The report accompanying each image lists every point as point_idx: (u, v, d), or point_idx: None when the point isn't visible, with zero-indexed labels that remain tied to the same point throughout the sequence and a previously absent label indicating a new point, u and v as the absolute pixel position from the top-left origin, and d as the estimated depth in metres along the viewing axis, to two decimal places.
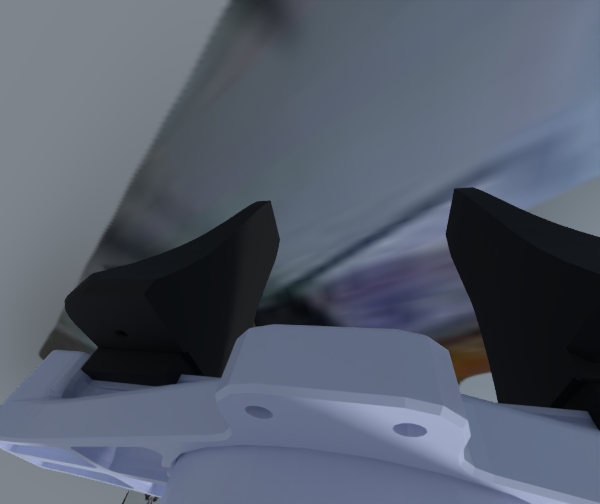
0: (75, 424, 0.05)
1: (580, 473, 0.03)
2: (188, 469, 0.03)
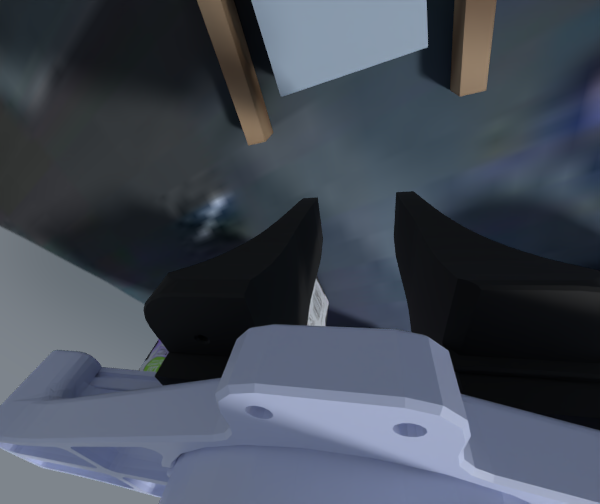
0: (75, 424, 0.05)
1: (580, 473, 0.03)
2: (188, 470, 0.03)
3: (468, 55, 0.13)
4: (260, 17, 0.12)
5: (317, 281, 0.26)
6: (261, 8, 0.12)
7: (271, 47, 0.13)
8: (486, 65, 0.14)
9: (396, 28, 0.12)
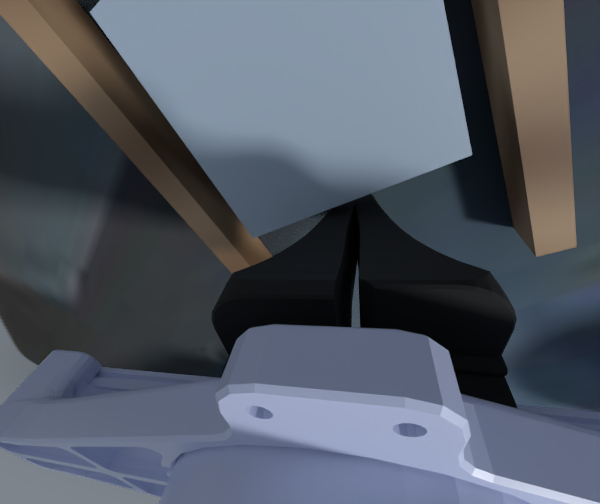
0: (75, 424, 0.05)
1: (580, 473, 0.03)
2: (188, 469, 0.03)
3: (539, 218, 0.10)
4: (197, 153, 0.08)
5: None
6: (195, 143, 0.08)
7: (223, 186, 0.09)
8: (571, 223, 0.10)
9: (412, 137, 0.07)
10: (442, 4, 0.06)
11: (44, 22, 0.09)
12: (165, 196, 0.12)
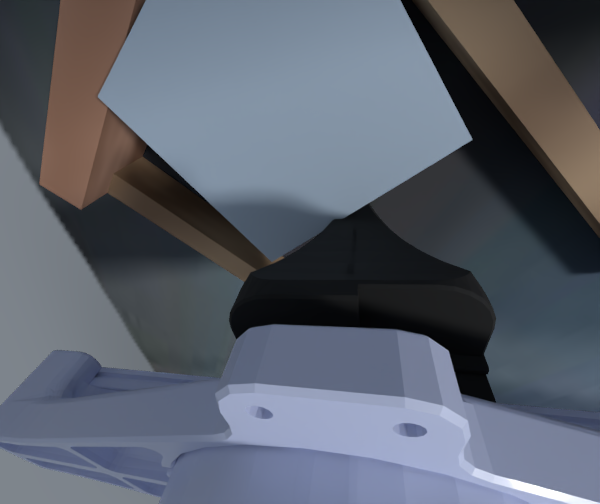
0: (75, 424, 0.05)
1: (580, 473, 0.03)
2: (188, 470, 0.03)
3: None
4: (206, 194, 0.09)
5: None
6: (202, 185, 0.09)
7: (234, 218, 0.09)
8: None
9: (403, 136, 0.07)
10: (400, 4, 0.05)
11: (222, 248, 0.13)
12: None
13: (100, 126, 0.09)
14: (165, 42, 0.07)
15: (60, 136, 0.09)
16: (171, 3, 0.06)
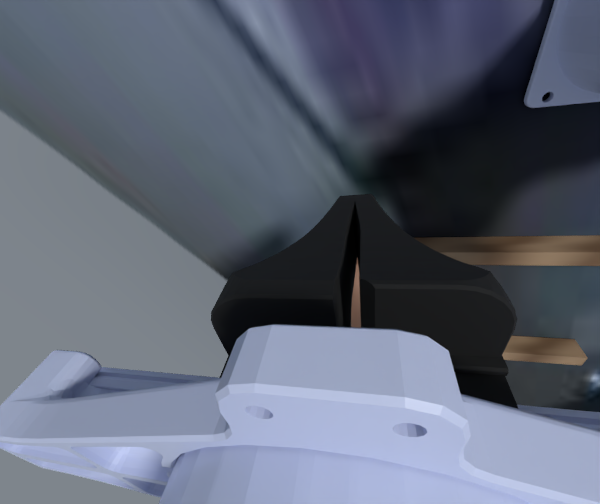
0: (75, 424, 0.05)
1: (580, 473, 0.03)
2: (188, 469, 0.03)
3: None
4: None
5: None
6: None
7: None
8: None
9: None
10: None
11: None
12: None
13: None
14: None
15: None
16: None
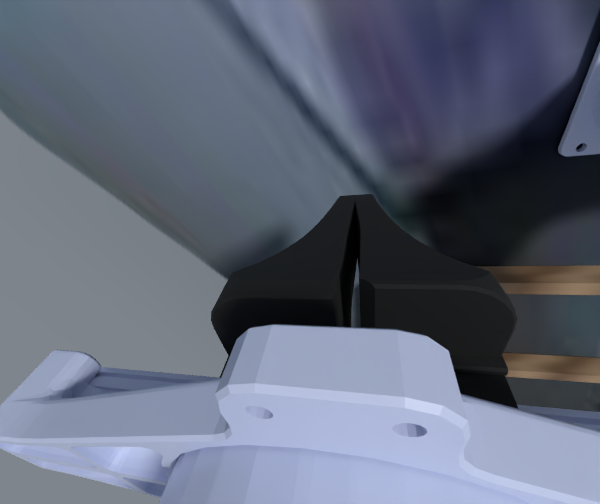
0: (75, 424, 0.05)
1: (580, 473, 0.03)
2: (188, 470, 0.03)
3: None
4: None
5: None
6: None
7: None
8: None
9: None
10: None
11: None
12: None
13: None
14: None
15: None
16: None
